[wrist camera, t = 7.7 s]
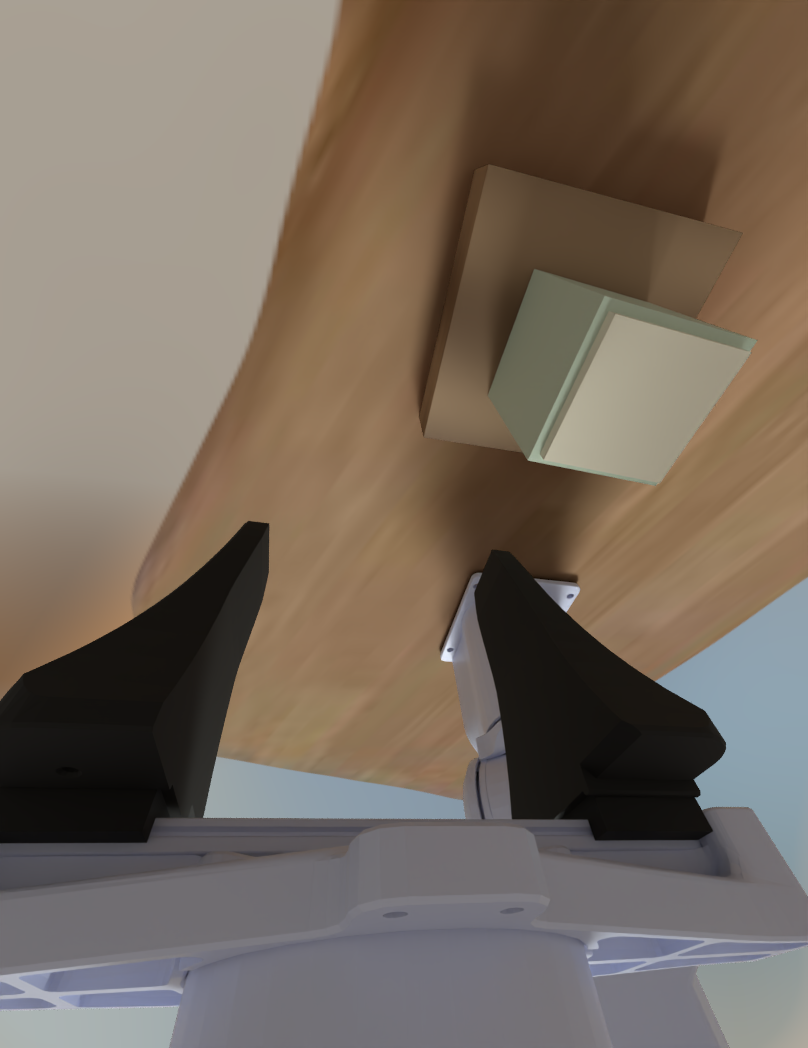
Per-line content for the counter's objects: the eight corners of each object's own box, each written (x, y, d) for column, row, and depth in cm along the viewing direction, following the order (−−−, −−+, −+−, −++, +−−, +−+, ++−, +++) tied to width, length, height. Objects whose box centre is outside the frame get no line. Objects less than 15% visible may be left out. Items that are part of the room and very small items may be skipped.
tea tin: (586, 417, 20) (662, 491, 15) (487, 395, 19) (531, 466, 14) (647, 302, 17) (768, 344, 12) (534, 268, 16) (611, 298, 11)
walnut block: (589, 441, 24) (613, 466, 21) (418, 412, 22) (423, 437, 20) (693, 230, 18) (743, 232, 16) (471, 171, 16) (488, 164, 14)
